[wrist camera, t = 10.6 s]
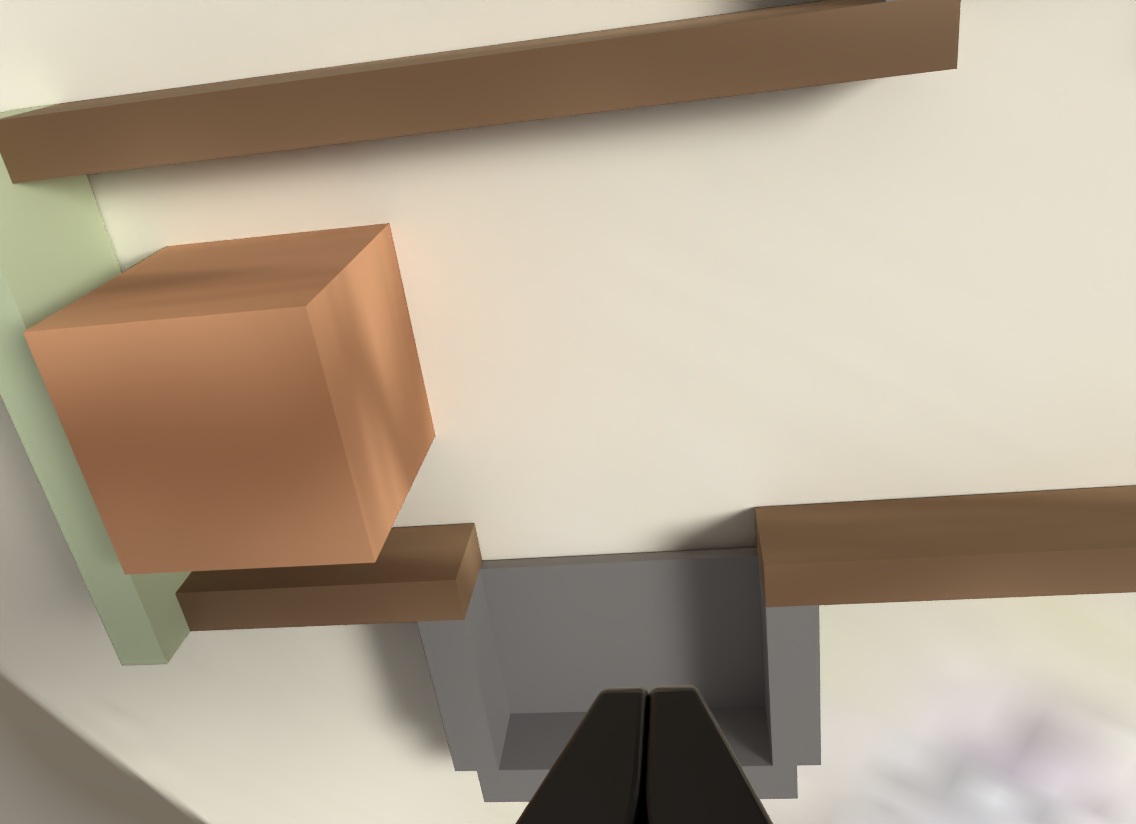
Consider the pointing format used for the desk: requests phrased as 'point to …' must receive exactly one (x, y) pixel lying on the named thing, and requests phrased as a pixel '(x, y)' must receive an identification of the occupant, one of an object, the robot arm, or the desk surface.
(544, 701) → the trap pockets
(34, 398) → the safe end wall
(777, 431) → the desk surface
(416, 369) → the wooden cube
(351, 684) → the desk surface
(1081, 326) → the desk surface
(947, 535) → the lane walls
